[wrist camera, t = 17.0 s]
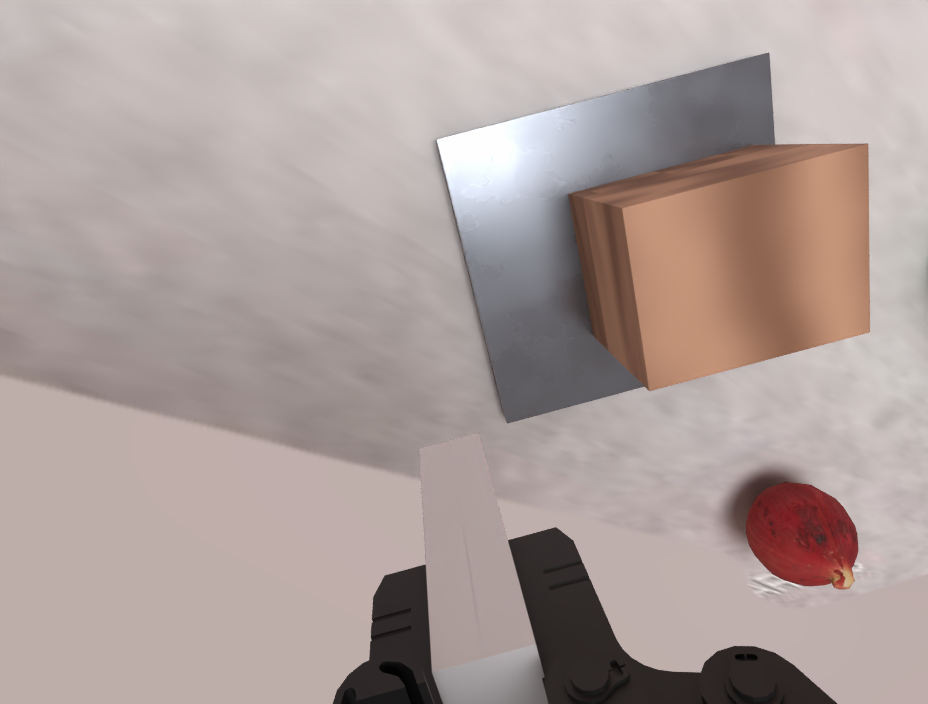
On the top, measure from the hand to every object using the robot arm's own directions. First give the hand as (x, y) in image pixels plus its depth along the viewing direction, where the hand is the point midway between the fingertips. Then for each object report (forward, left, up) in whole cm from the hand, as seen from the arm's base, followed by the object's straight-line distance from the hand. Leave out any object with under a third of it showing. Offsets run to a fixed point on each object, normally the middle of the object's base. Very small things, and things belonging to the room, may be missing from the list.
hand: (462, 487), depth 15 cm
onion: (+18, -19, -20) cm, 33 cm away
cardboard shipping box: (+13, 0, -18) cm, 23 cm away
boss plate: (+11, 0, -19) cm, 22 cm away
